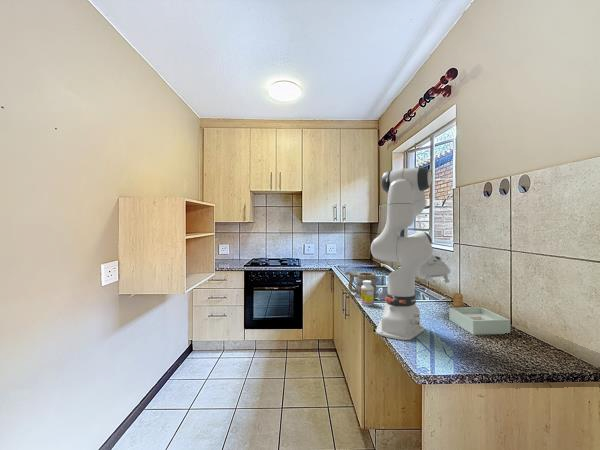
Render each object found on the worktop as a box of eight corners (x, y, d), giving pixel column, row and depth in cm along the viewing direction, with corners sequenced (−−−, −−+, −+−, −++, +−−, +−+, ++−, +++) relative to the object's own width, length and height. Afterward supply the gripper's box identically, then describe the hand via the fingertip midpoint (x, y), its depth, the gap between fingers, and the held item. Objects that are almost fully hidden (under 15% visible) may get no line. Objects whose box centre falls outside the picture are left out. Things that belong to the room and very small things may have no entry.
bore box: (510, 333, 117) (510, 319, 117) (473, 334, 116) (473, 320, 116) (481, 318, 135) (481, 306, 135) (449, 319, 134) (449, 307, 134)
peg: (462, 316, 138) (462, 295, 138) (453, 315, 140) (452, 294, 140) (463, 314, 141) (463, 294, 141) (454, 313, 143) (453, 293, 143)
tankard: (380, 295, 180) (379, 271, 179) (373, 300, 169) (372, 274, 169) (349, 292, 191) (349, 269, 190) (341, 296, 180) (341, 272, 180)
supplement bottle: (359, 302, 165) (359, 280, 165) (371, 302, 165) (370, 279, 165) (363, 306, 158) (363, 282, 158) (375, 305, 159) (374, 282, 159)
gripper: (414, 259, 152) (429, 281, 143) (442, 256, 160) (459, 277, 151) (408, 266, 156) (422, 288, 147) (436, 264, 164) (451, 284, 155)
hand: (441, 283), depth 149 cm, fingers open, 8 cm apart
